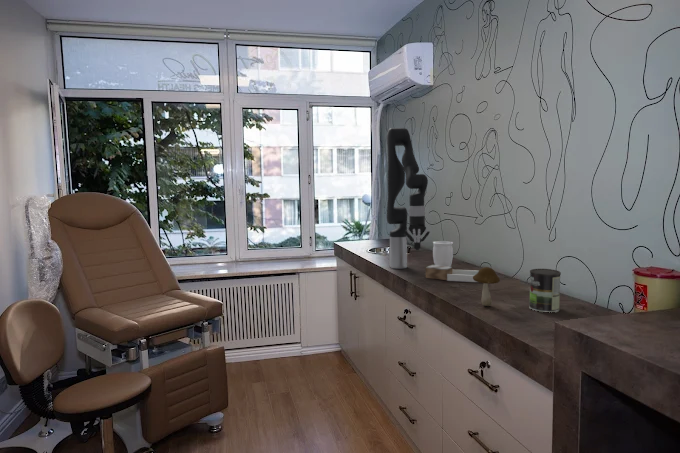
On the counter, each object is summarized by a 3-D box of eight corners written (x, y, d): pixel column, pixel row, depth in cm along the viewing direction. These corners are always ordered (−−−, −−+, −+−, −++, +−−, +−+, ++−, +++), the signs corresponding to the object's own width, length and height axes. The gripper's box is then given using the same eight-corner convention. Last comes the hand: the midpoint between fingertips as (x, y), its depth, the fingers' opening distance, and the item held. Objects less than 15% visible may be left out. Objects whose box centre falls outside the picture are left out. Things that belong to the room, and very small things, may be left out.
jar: (453, 272, 235) (453, 243, 233) (432, 271, 237) (432, 243, 235) (452, 268, 245) (452, 240, 244) (432, 267, 247) (432, 240, 246)
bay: (447, 280, 216) (447, 274, 216) (449, 275, 228) (449, 269, 228) (480, 282, 211) (480, 275, 211) (481, 276, 223) (481, 270, 223)
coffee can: (538, 313, 162) (538, 274, 161) (524, 305, 172) (524, 269, 171) (565, 312, 163) (566, 273, 161) (550, 304, 173) (551, 268, 172)
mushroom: (488, 300, 180) (488, 263, 178) (505, 308, 169) (505, 269, 167) (467, 302, 178) (467, 265, 176) (482, 311, 167) (483, 270, 165)
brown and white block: (425, 278, 224) (425, 267, 223) (431, 275, 230) (431, 264, 229) (446, 280, 218) (447, 269, 217) (452, 277, 223) (452, 266, 223)
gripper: (402, 215, 223) (402, 250, 224) (429, 215, 218) (429, 251, 220) (405, 214, 230) (405, 248, 231) (431, 214, 225) (432, 249, 227)
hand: (417, 249), depth 225 cm, fingers closed
